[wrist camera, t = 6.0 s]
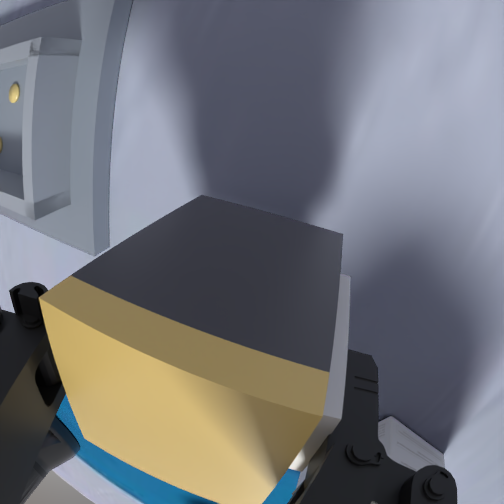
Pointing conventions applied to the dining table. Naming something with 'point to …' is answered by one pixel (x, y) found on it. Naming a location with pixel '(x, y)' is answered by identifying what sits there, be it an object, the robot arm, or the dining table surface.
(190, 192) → the dining table surface
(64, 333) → the plug
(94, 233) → the socket
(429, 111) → the dining table surface
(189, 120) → the dining table surface
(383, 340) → the dining table surface
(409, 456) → the supplement box
